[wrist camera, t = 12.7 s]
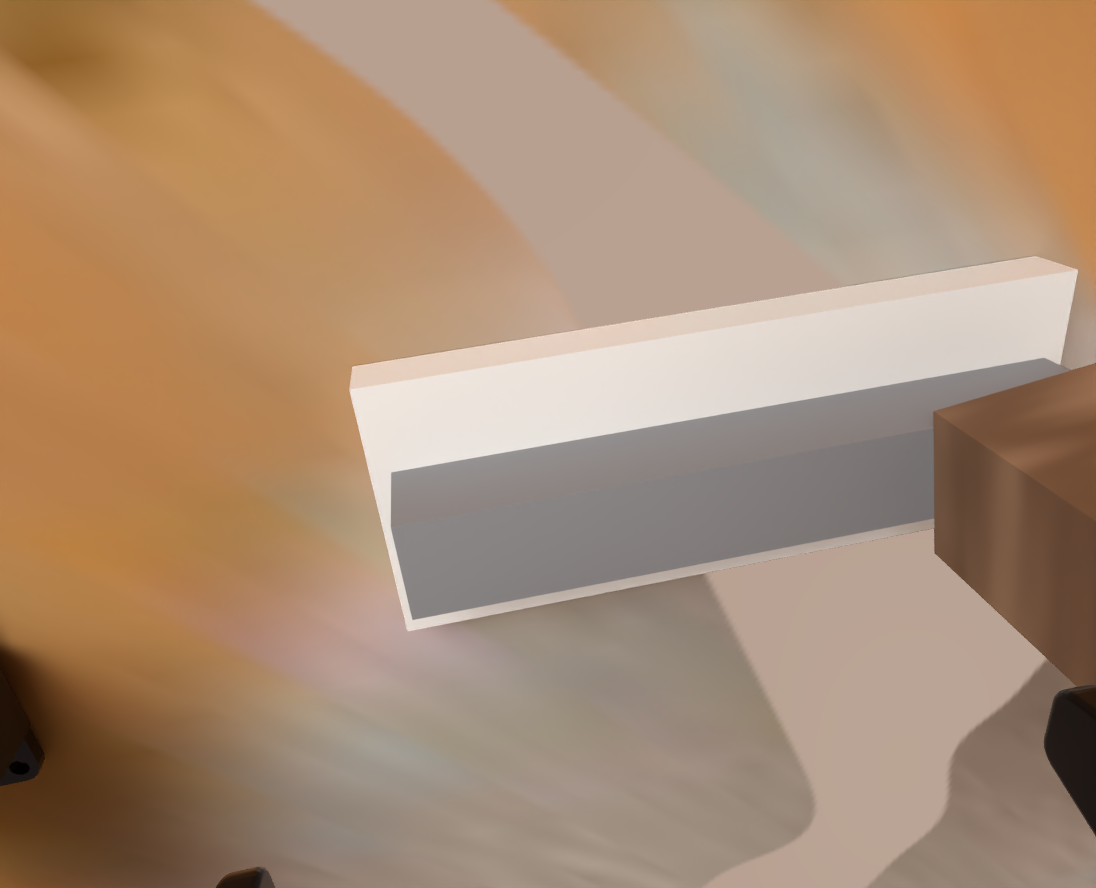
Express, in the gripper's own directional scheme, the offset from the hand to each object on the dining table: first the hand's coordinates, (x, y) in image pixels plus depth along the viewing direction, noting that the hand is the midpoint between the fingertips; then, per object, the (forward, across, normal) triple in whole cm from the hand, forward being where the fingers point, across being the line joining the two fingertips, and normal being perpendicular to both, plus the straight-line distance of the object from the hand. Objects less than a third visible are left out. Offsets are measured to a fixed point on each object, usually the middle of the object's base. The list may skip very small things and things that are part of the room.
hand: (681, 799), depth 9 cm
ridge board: (+13, -5, +2) cm, 14 cm away
